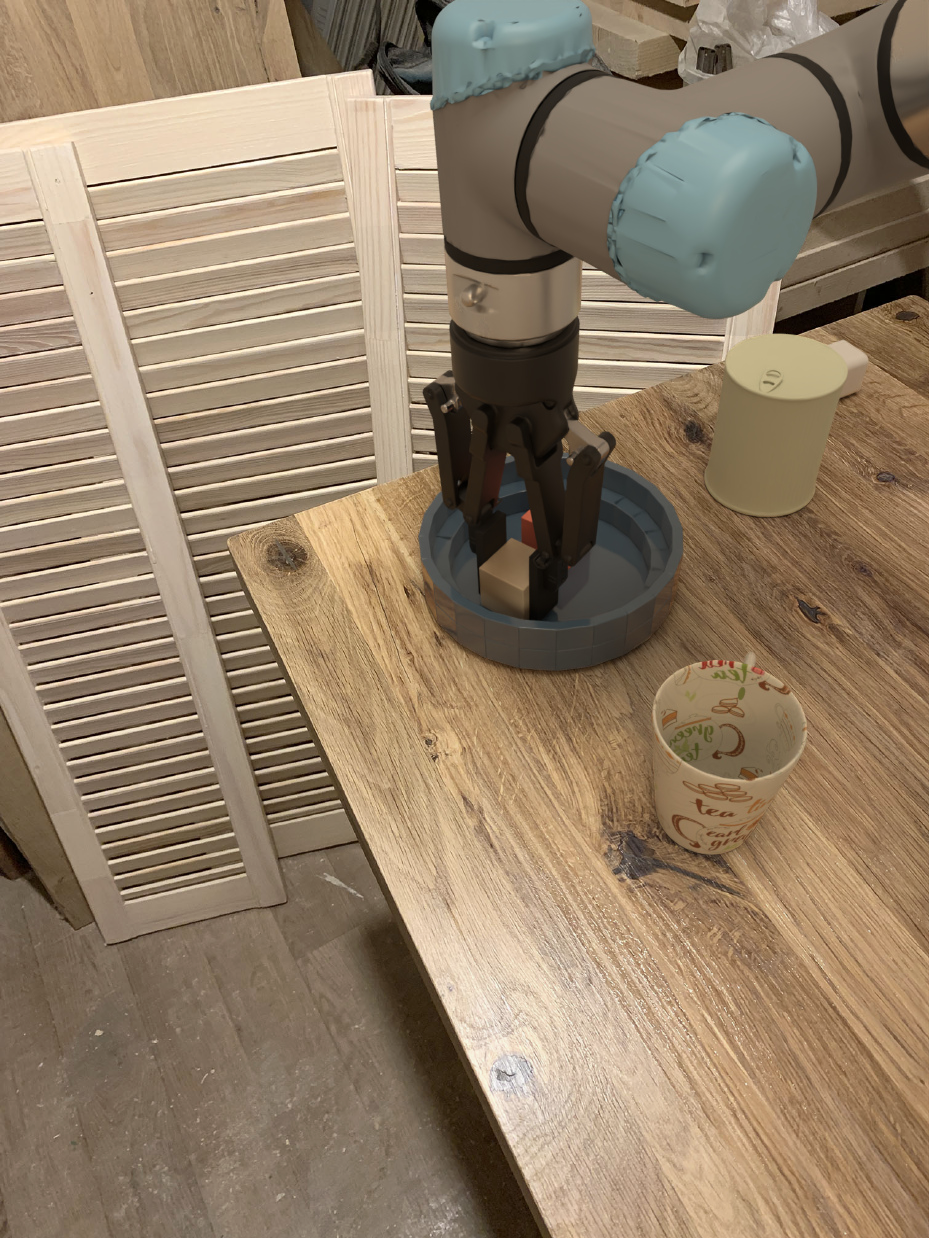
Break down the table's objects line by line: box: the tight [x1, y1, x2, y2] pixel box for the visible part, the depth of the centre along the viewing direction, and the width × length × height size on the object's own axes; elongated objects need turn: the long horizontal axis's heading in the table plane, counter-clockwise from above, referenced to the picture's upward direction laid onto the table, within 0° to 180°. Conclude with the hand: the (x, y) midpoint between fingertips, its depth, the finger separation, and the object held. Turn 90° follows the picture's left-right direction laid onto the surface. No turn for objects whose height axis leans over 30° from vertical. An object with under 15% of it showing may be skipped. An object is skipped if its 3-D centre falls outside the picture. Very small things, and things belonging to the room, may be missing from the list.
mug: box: [650, 651, 808, 855], centre depth 56 cm, size 8×13×10 cm, turn 158°
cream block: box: [479, 538, 536, 620], centre depth 69 cm, size 4×4×4 cm
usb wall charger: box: [826, 339, 869, 399], centre depth 86 cm, size 4×7×4 cm, turn 116°
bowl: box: [417, 451, 684, 672], centre depth 71 cm, size 20×20×5 cm
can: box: [703, 333, 848, 518], centre depth 75 cm, size 9×9×12 cm
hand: (518, 597), depth 70 cm, fingers closed on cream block, 4 cm apart
